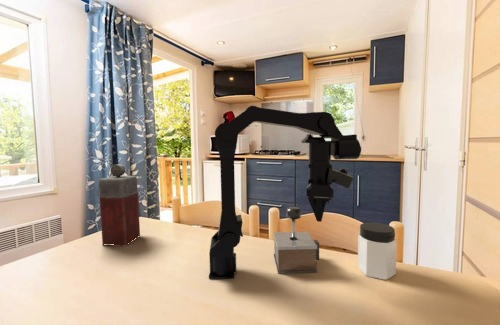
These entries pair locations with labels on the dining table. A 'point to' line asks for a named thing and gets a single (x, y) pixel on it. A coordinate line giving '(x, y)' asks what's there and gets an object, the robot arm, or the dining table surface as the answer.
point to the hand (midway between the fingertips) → (318, 216)
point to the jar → (377, 250)
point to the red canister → (119, 207)
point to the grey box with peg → (295, 252)
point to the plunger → (293, 217)
